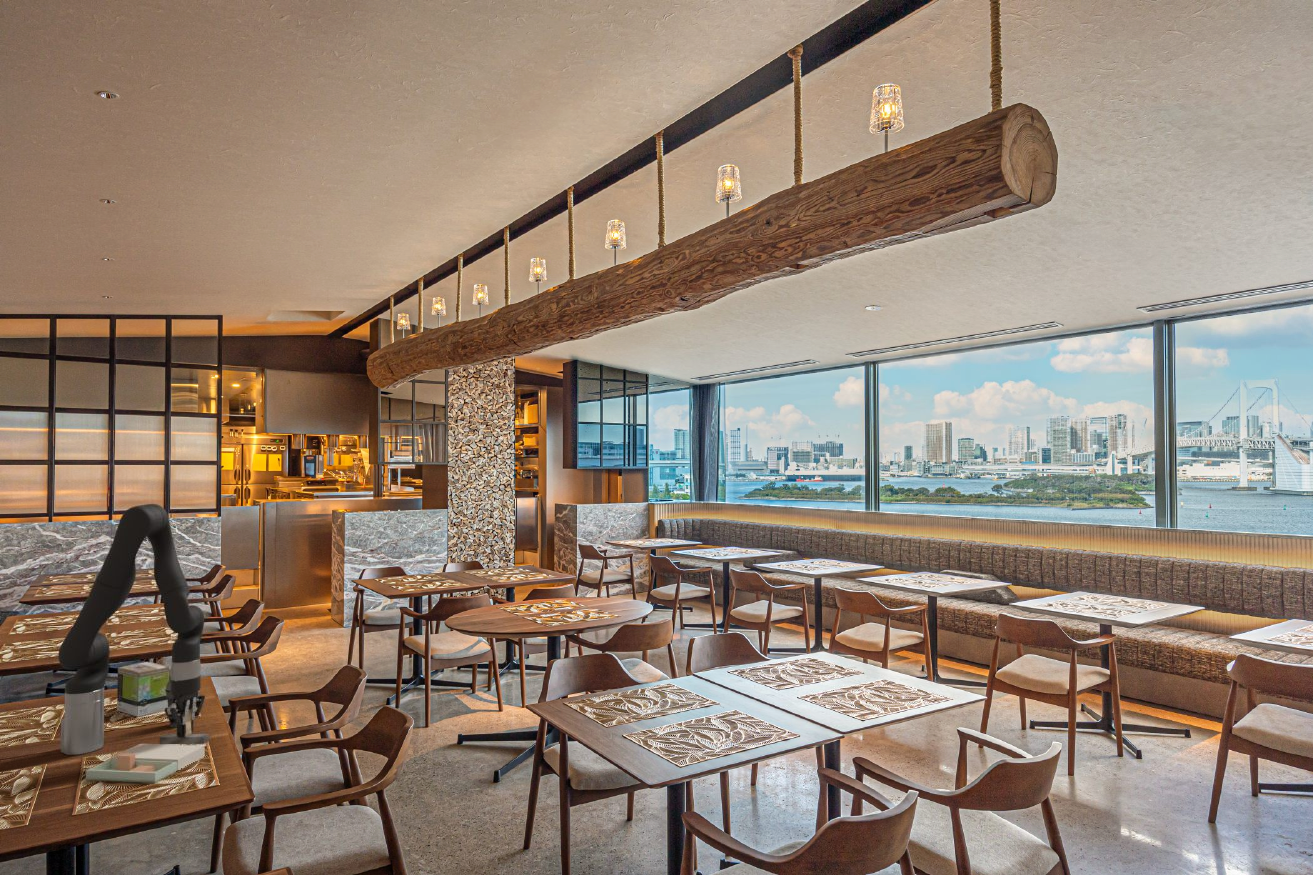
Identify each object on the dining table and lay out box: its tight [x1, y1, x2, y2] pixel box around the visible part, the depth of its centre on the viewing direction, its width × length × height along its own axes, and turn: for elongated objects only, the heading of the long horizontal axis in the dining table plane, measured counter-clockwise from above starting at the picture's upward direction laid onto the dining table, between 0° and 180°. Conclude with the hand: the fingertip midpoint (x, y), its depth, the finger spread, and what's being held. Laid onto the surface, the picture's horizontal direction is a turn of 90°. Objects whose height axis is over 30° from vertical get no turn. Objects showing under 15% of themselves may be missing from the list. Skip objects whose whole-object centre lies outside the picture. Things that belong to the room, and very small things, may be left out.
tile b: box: [130, 765, 154, 772], centre depth 198 cm, size 4×4×2 cm
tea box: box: [116, 661, 170, 718], centre depth 255 cm, size 15×10×15 cm
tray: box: [85, 758, 178, 784], centre depth 199 cm, size 20×8×2 cm, turn 83°
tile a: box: [116, 753, 135, 771], centre depth 202 cm, size 4×4×2 cm
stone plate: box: [110, 743, 206, 771], centre depth 208 cm, size 20×10×3 cm, turn 83°
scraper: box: [159, 710, 211, 745], centre depth 220 cm, size 14×2×10 cm, turn 83°
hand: (185, 735), depth 219 cm, fingers closed on scraper, 2 cm apart
